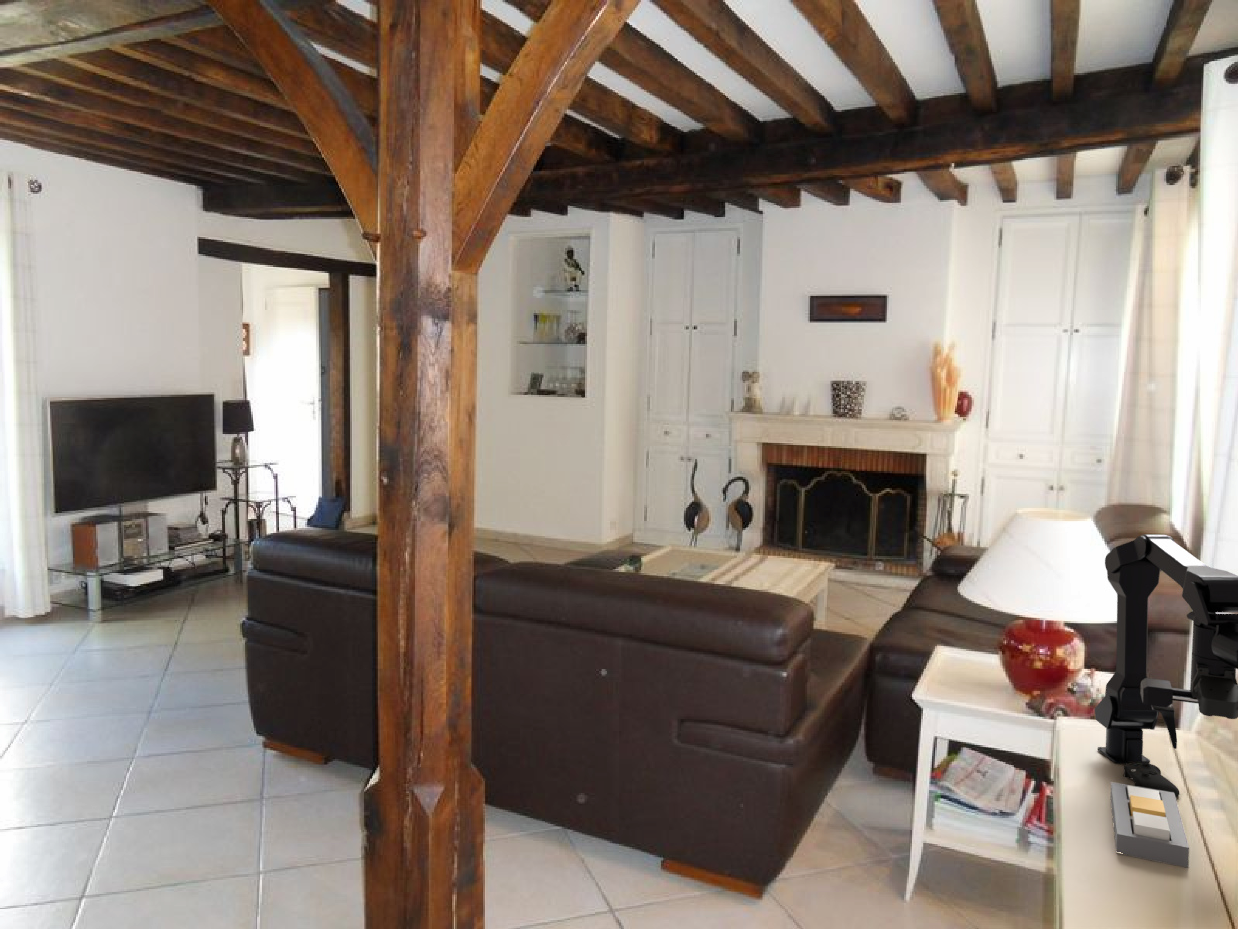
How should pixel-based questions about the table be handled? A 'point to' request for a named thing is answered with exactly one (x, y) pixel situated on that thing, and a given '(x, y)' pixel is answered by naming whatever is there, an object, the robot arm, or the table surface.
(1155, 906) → the table surface
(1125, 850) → the switch strip
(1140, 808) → the button mid
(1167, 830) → the button
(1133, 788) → the button
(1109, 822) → the table surface
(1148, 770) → the game controller
